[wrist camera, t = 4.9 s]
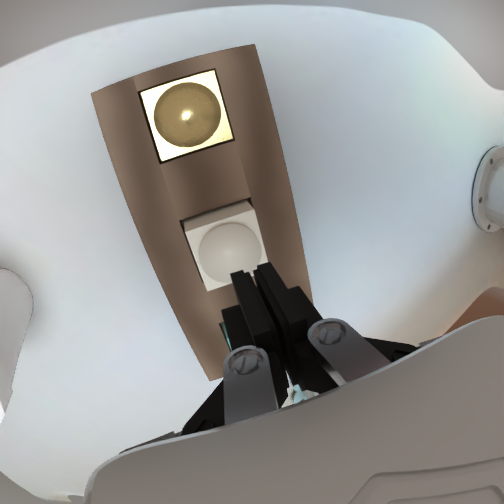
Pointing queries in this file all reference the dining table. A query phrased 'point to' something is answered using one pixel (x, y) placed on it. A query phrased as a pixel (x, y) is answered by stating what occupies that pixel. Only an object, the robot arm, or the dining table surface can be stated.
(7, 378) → the foam cup
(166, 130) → the brass button
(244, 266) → the cream button
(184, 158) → the button panel
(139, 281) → the dining table surface
